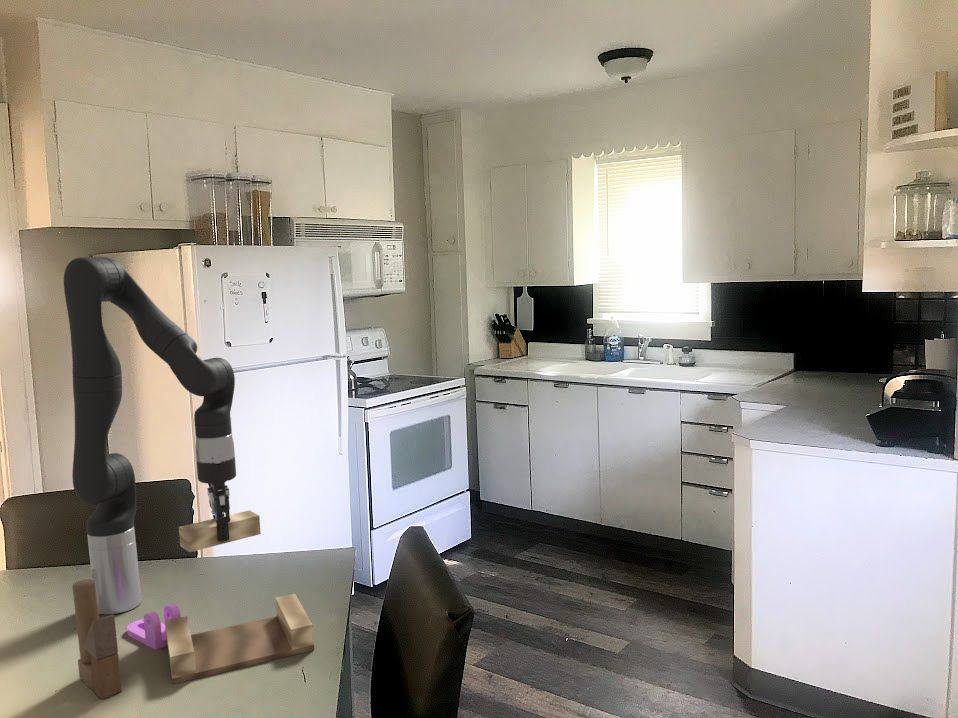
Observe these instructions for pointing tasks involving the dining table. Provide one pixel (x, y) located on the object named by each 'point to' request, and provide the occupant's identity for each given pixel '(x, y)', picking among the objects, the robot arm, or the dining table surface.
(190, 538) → the oak plank
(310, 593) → the dining table surface
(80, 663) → the wooden block
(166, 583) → the dining table surface
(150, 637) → the bracket
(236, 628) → the brown wooden cradle
